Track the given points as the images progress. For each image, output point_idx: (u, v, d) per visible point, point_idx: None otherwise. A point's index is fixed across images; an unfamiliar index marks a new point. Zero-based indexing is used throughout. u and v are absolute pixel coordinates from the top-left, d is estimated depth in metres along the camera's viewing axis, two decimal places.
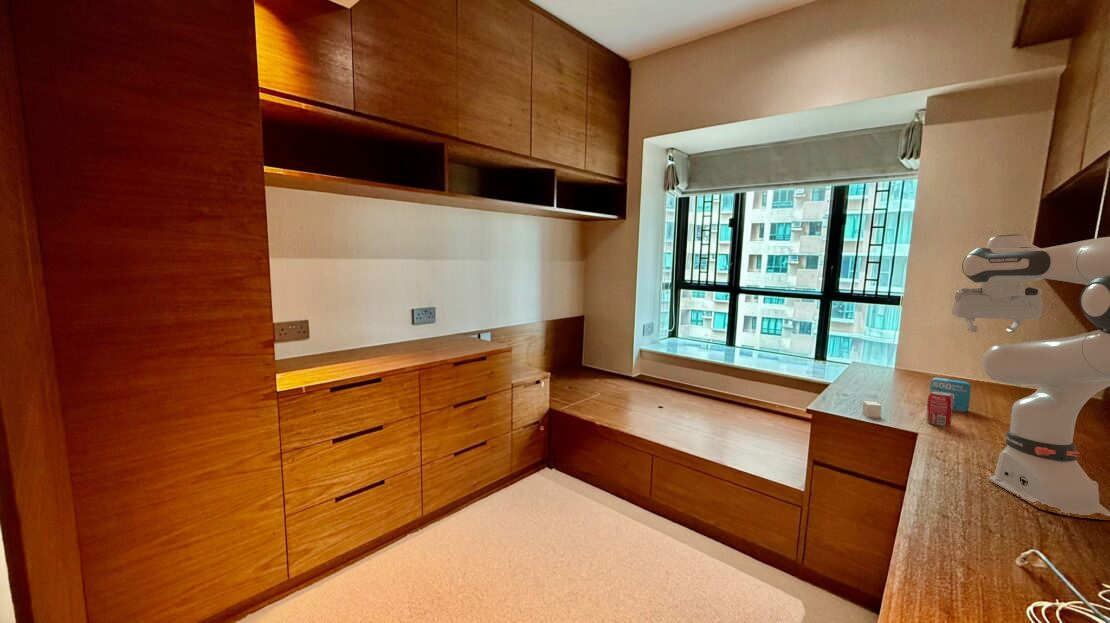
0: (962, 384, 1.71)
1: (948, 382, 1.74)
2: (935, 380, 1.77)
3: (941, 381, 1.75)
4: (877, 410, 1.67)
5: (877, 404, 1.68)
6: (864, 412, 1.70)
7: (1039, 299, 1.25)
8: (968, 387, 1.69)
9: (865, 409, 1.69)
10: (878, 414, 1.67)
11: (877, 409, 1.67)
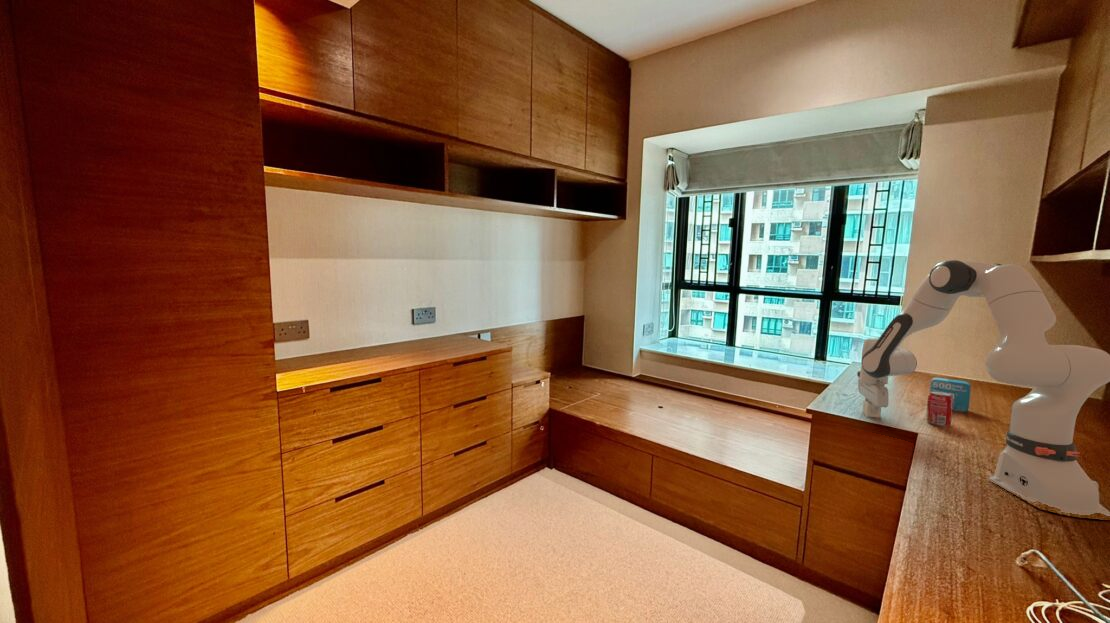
0: (962, 384, 1.71)
1: (948, 382, 1.74)
2: (935, 380, 1.77)
3: (941, 381, 1.75)
4: None
5: None
6: (864, 412, 1.70)
7: None
8: (968, 387, 1.69)
9: (865, 409, 1.69)
10: (878, 413, 1.67)
11: None
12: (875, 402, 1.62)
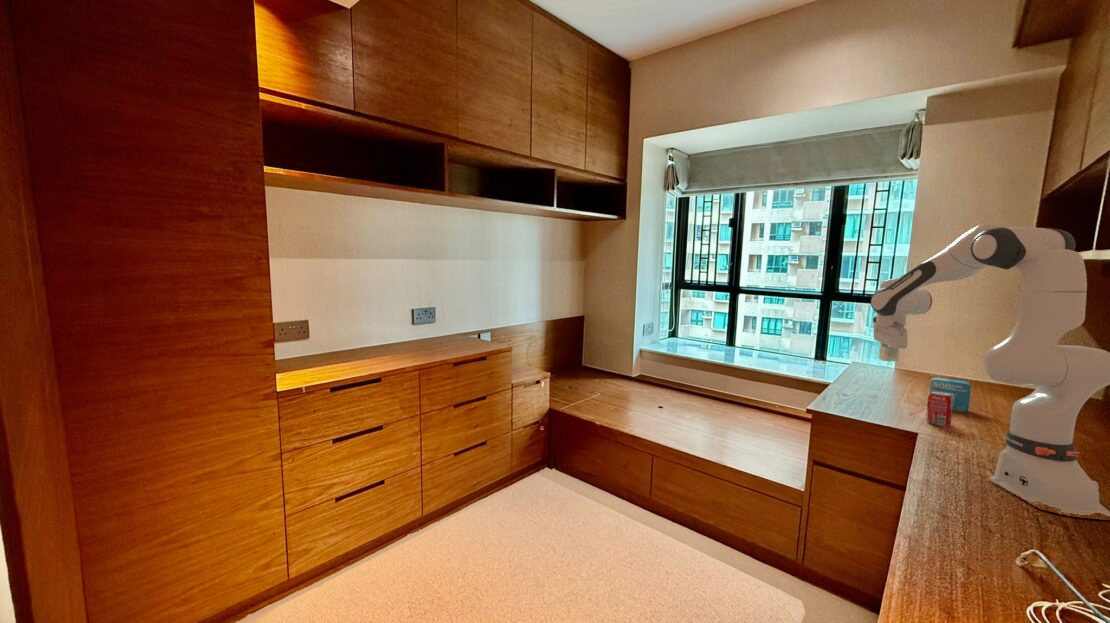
0: (962, 384, 1.71)
1: (948, 382, 1.74)
2: (935, 380, 1.77)
3: (941, 381, 1.75)
4: None
5: None
6: (881, 357, 1.66)
7: None
8: (968, 387, 1.69)
9: (882, 354, 1.65)
10: None
11: None
12: (893, 344, 1.57)
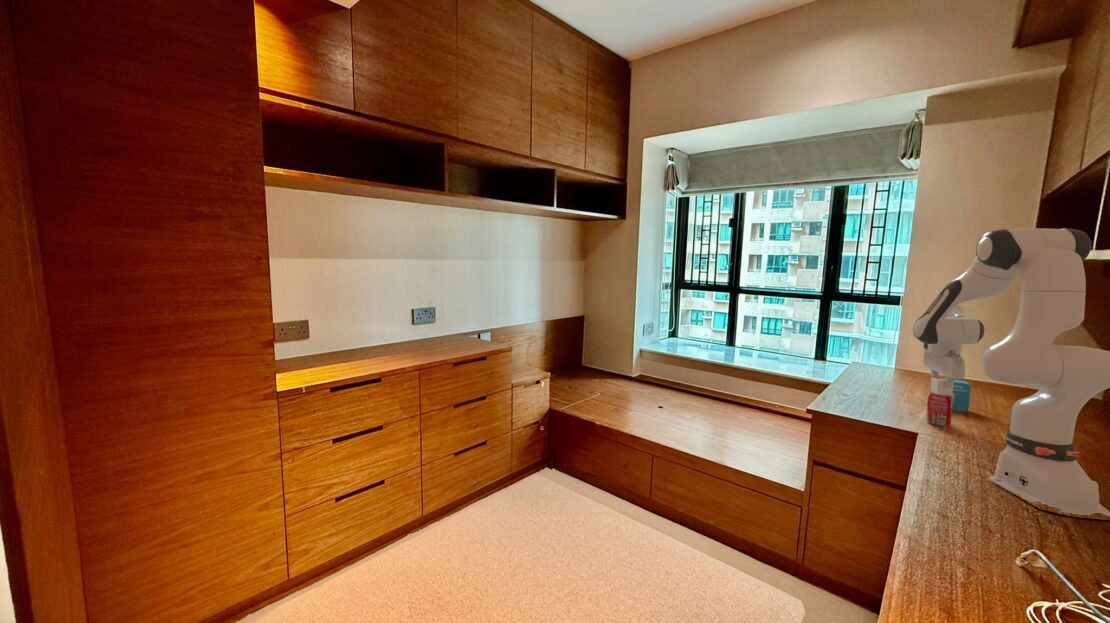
0: (962, 384, 1.71)
1: None
2: None
3: None
4: None
5: None
6: (933, 390, 1.59)
7: None
8: (968, 387, 1.69)
9: (935, 386, 1.58)
10: (949, 391, 1.55)
11: None
12: (949, 374, 1.50)
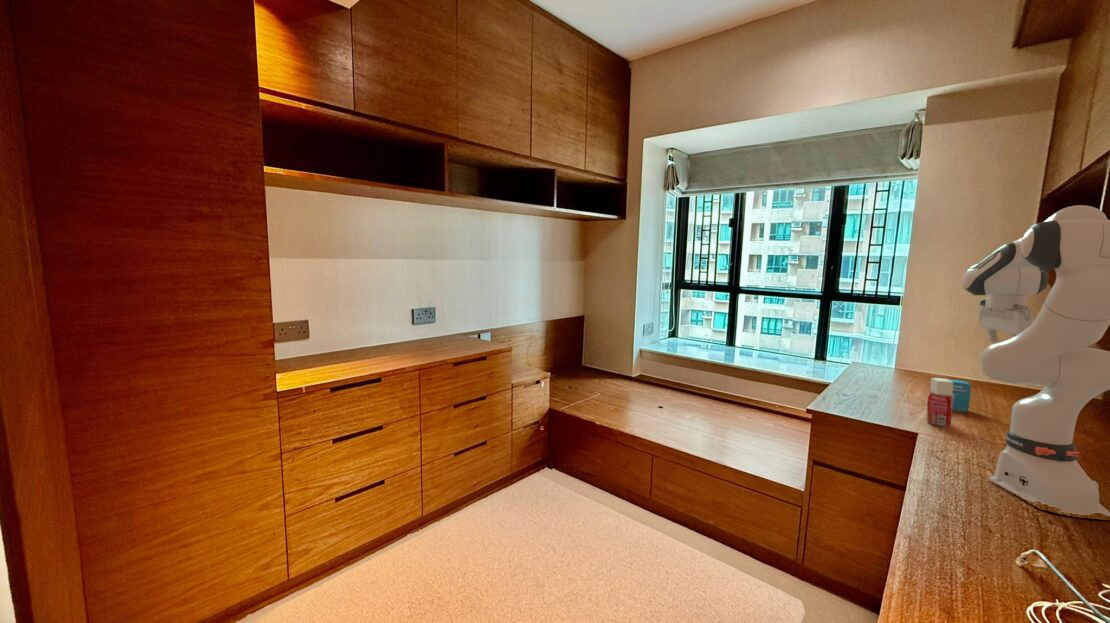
0: (962, 384, 1.71)
1: None
2: None
3: None
4: (948, 387, 1.55)
5: (948, 381, 1.56)
6: (933, 390, 1.59)
7: None
8: (968, 387, 1.69)
9: (934, 386, 1.58)
10: (949, 391, 1.55)
11: (948, 386, 1.55)
12: (1014, 330, 1.34)
